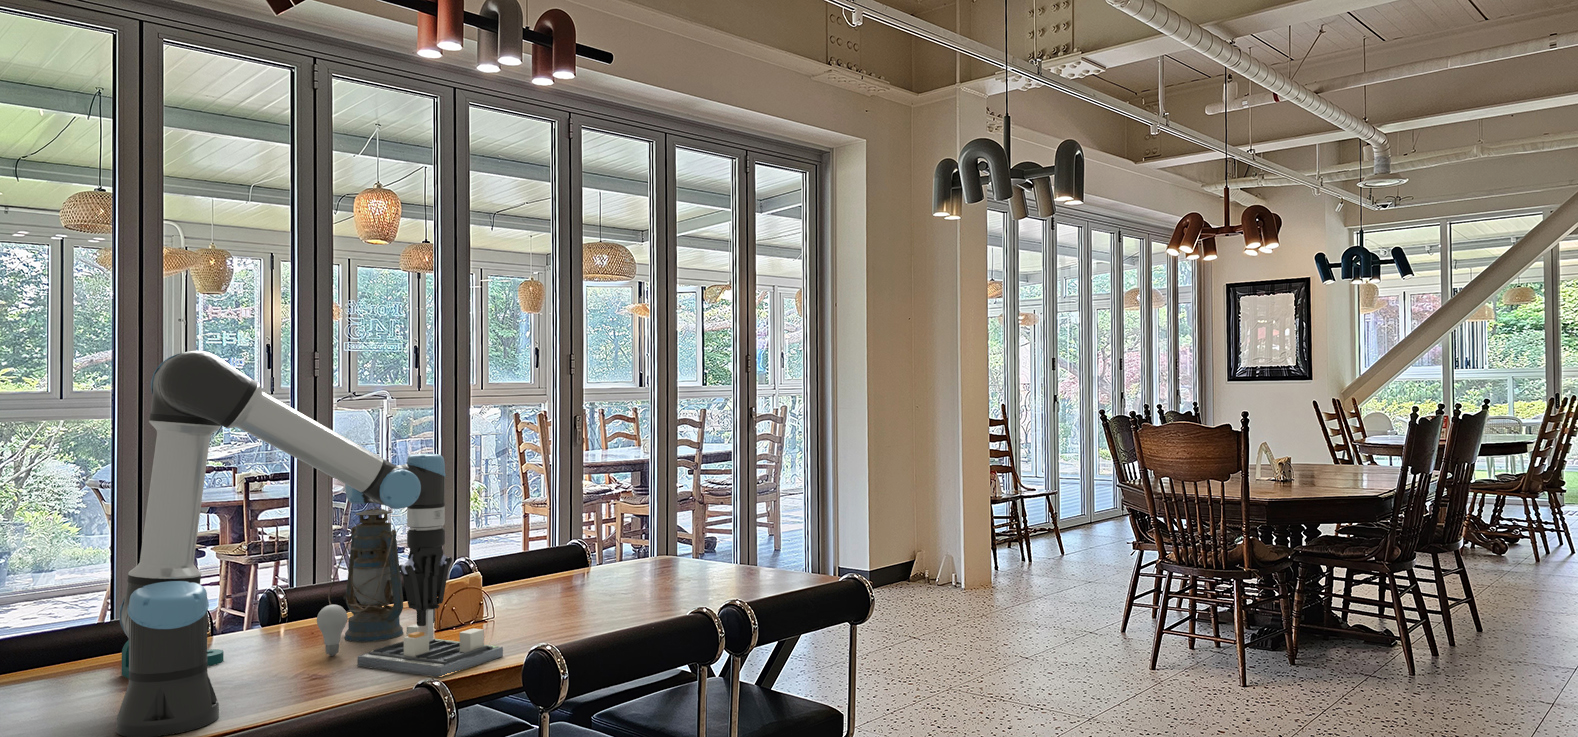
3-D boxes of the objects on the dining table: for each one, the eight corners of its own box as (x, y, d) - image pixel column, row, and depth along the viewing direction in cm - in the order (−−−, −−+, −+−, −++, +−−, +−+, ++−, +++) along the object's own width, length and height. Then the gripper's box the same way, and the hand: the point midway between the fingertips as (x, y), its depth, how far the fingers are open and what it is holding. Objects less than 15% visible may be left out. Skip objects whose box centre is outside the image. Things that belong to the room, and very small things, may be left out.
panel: (440, 677, 206) (440, 663, 206) (357, 665, 216) (357, 652, 216) (502, 656, 222) (502, 643, 222) (422, 646, 232) (422, 633, 232)
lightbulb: (336, 660, 221) (335, 608, 221) (310, 659, 222) (310, 607, 223) (353, 653, 227) (353, 602, 227) (328, 651, 228) (328, 601, 229)
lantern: (424, 634, 244) (423, 506, 245) (372, 647, 232) (372, 512, 233) (370, 626, 254) (369, 503, 255) (317, 638, 242) (317, 509, 243)
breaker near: (470, 652, 217) (470, 633, 217) (459, 651, 218) (459, 632, 218) (484, 648, 221) (483, 629, 221) (473, 647, 222) (473, 628, 222)
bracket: (133, 681, 207) (133, 642, 207) (121, 676, 211) (121, 637, 211) (228, 663, 221) (228, 625, 221) (215, 658, 225) (215, 621, 225)
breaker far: (417, 646, 224) (416, 627, 224) (406, 645, 225) (406, 626, 225) (430, 642, 227) (430, 623, 227) (420, 640, 228) (420, 622, 229)
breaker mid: (414, 658, 213) (414, 635, 213) (403, 657, 214) (403, 634, 214) (429, 653, 217) (428, 631, 217) (418, 652, 218) (418, 630, 218)
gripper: (416, 532, 211) (415, 649, 211) (461, 525, 223) (461, 635, 222) (388, 530, 214) (388, 645, 214) (435, 523, 226) (435, 632, 226)
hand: (425, 640), depth 218 cm, fingers closed
